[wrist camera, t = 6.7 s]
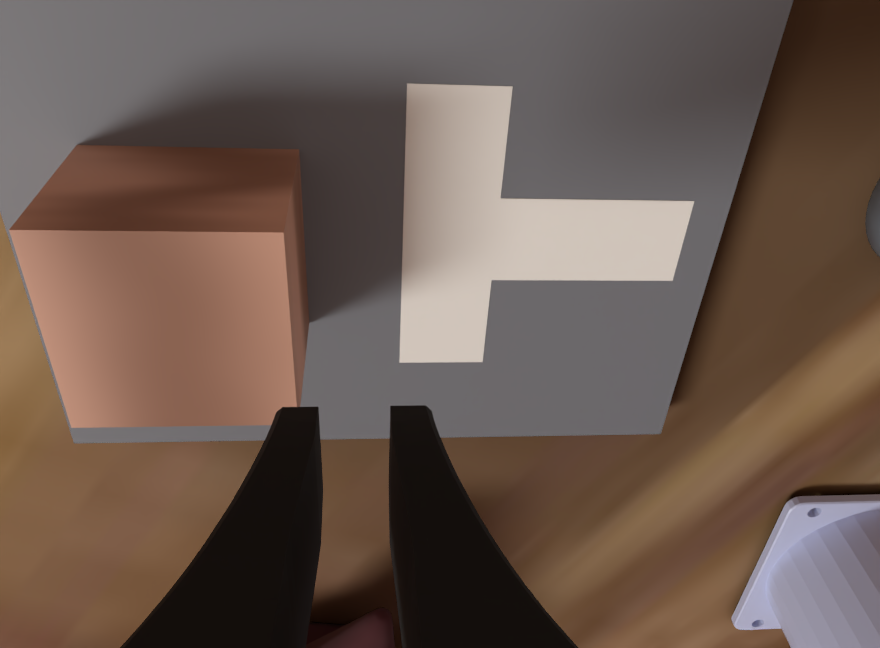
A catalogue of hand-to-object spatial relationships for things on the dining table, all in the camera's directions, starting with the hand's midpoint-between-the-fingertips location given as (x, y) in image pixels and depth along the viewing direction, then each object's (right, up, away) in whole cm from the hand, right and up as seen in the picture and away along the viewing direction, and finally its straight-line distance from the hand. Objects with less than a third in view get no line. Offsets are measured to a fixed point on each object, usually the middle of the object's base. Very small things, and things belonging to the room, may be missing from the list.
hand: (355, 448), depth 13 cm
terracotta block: (-4, +4, +6) cm, 8 cm away
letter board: (0, +5, +7) cm, 8 cm away
